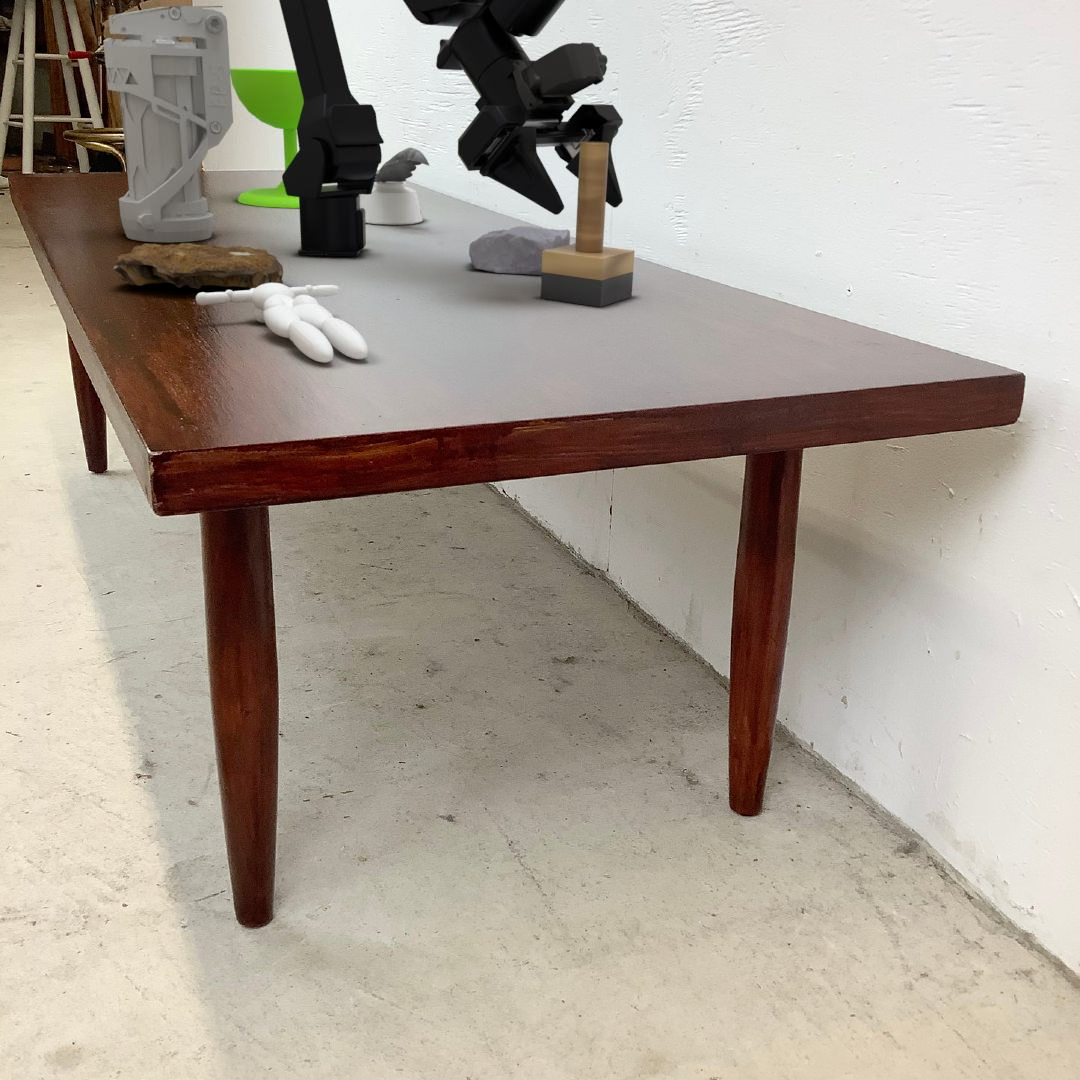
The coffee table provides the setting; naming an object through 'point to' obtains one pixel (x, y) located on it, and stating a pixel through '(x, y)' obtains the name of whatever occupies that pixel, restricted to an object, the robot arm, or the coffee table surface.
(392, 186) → the inkwell
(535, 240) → the stone block
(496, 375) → the coffee table surface
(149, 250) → the decorative rock
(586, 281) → the rubber stamp
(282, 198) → the wineglass
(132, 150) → the grey mechanical model
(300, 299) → the decorative figure
